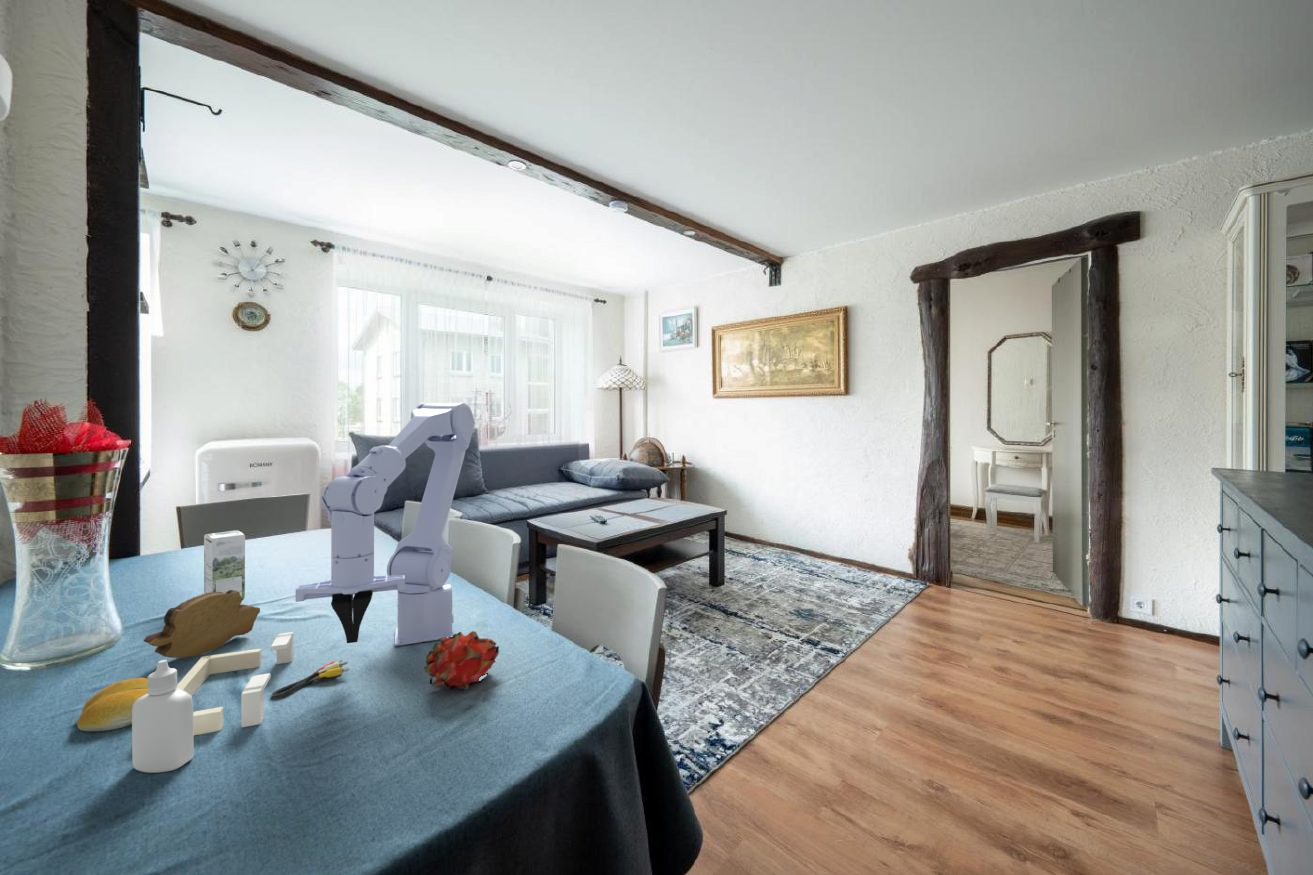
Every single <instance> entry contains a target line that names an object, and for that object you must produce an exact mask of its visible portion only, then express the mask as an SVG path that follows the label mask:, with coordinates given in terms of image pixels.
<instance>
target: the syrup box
mask: <svg viewBox="0 0 1313 875" xmlns="http://www.w3.org/2000/svg"><path fill="white" fill-rule="evenodd" d="M203 539H204V540H203V552H204V553H203V556H204V557H203V558H204V559H203V565H204V568H203V570H204V572H203V574H204V577H203V578H204V580H203V584H204V585H203V587H204V588H203V590H204V591H203V592H204V593H203V594H205V593H209V592H222V593H226V592H227V591H229V590H233V591H238V592H239V593H240V595H241V597H242V600H243V599H245V598H246V580H245V579H246V535H245V534H244V533H243V532H242V531H239V530H229V531H223V532H213V533H207V534H206V533H205V534H204V536H203Z"/></svg>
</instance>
